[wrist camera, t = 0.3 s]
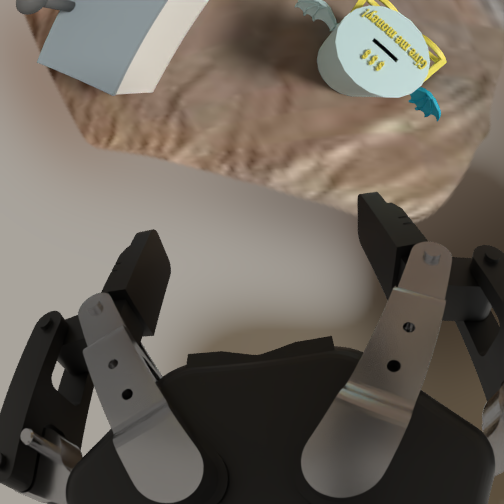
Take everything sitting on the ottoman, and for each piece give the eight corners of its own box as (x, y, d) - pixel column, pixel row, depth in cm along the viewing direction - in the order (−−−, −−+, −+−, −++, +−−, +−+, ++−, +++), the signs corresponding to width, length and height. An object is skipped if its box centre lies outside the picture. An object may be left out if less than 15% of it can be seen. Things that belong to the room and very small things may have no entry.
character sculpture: (436, 82, 30) (494, 85, 18) (388, 139, 35) (434, 161, 23) (319, -18, 25) (335, -63, 13) (265, 40, 30) (257, 12, 18)
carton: (210, -2, 27) (188, -28, 19) (152, 92, 34) (115, 94, 25) (133, -25, 25) (98, -47, 16) (84, 62, 32) (40, 61, 23)
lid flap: (188, -29, 19) (155, -65, 11) (115, 95, 25) (61, 102, 18) (97, -47, 16) (51, -70, 8) (38, 61, 23) (-16, 65, 15)
